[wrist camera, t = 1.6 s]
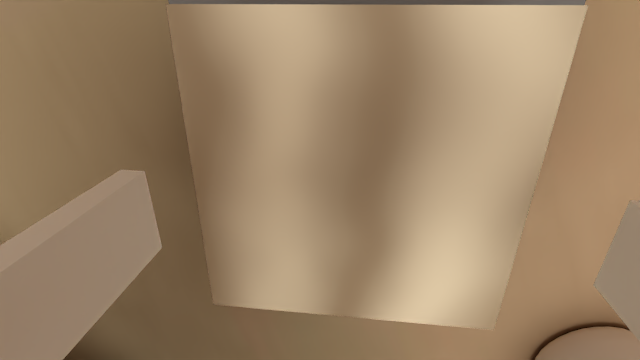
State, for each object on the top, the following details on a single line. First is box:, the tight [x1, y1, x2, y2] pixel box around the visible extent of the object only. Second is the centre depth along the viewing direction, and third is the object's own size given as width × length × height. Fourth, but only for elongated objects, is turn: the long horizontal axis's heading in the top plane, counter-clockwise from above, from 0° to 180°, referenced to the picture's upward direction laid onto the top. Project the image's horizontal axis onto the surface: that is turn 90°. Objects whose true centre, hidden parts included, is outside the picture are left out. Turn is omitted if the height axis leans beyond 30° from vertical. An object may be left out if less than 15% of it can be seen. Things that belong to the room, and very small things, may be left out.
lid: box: [166, 4, 588, 330], centre depth 14 cm, size 12×12×2 cm
